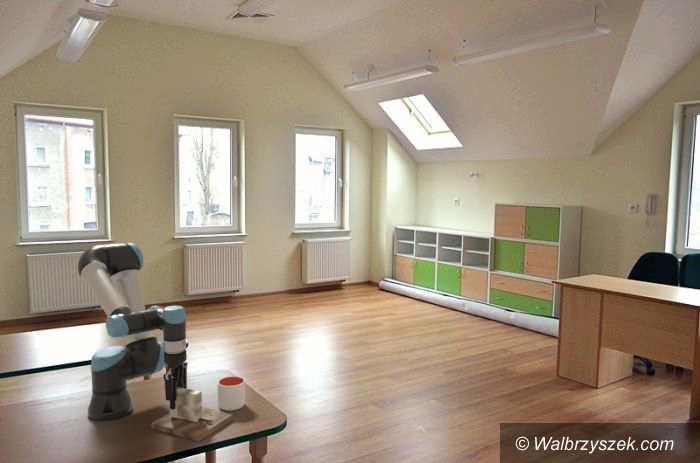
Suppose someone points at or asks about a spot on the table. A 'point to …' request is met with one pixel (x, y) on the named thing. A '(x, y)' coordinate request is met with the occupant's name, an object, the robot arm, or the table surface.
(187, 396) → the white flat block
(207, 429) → the board
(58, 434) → the table surface
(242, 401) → the cup
